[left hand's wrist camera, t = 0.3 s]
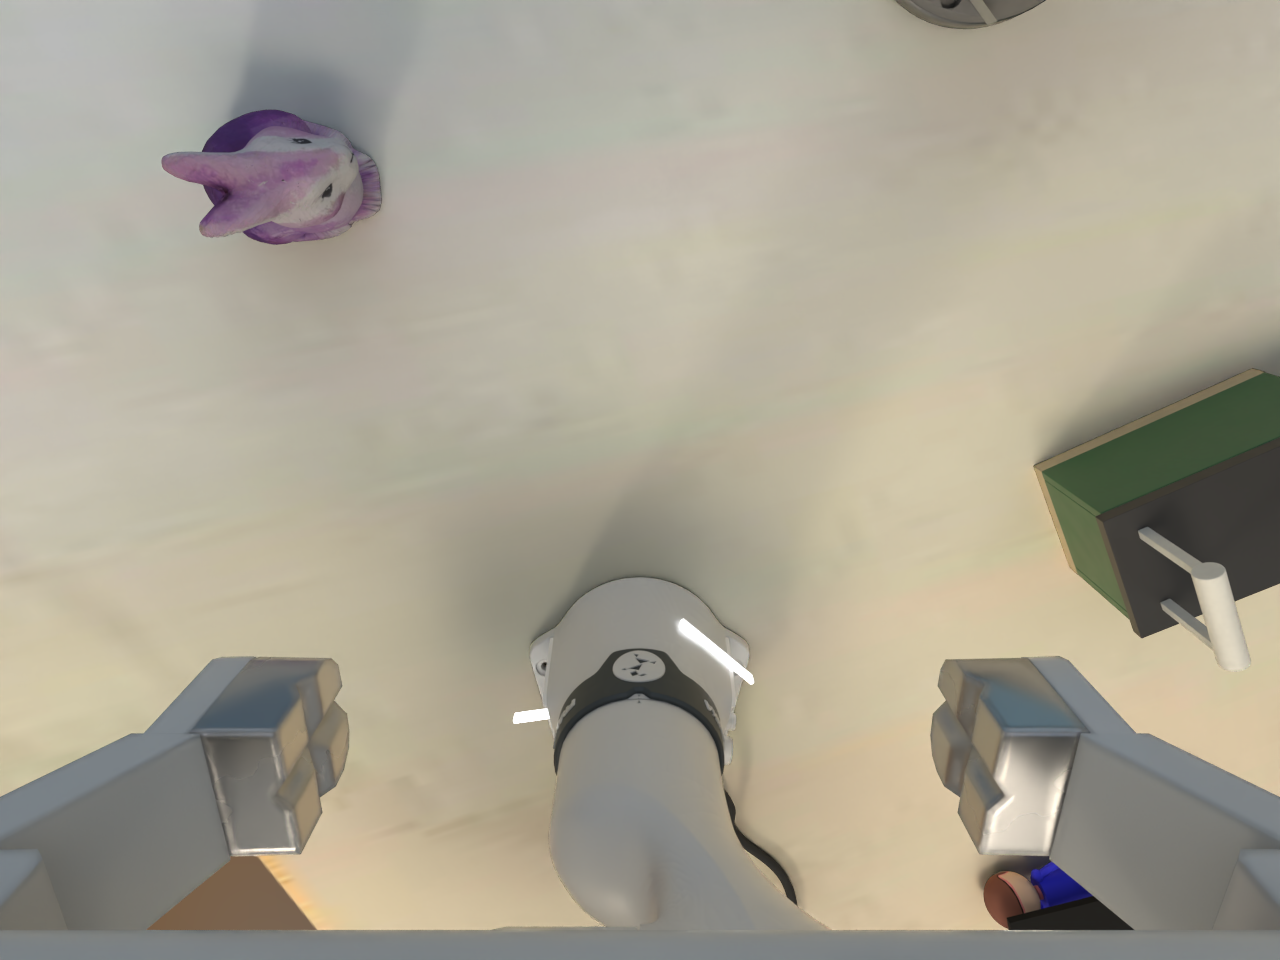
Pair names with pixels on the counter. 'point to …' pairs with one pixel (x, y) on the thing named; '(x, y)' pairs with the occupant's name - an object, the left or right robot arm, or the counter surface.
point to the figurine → (280, 179)
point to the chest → (1152, 463)
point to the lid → (1200, 550)
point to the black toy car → (1046, 902)
